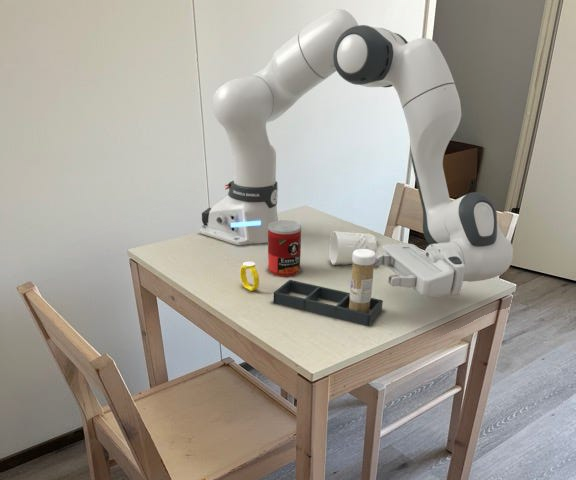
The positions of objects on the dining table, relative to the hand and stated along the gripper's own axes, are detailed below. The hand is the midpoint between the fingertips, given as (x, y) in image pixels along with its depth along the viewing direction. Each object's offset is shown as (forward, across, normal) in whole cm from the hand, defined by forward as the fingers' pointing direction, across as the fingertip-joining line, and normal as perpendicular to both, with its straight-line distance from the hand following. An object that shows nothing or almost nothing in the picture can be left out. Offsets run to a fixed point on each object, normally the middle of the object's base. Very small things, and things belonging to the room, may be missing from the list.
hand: (379, 272), depth 121 cm
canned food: (+12, -26, +9) cm, 30 cm away
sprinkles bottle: (+4, 0, +9) cm, 10 cm away
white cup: (-11, -26, +6) cm, 29 cm away
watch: (+22, -19, +9) cm, 31 cm away
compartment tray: (+9, -5, +9) cm, 14 cm away
